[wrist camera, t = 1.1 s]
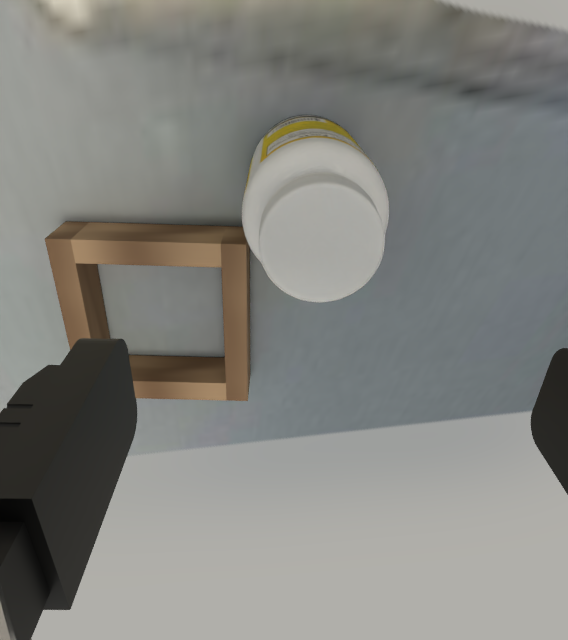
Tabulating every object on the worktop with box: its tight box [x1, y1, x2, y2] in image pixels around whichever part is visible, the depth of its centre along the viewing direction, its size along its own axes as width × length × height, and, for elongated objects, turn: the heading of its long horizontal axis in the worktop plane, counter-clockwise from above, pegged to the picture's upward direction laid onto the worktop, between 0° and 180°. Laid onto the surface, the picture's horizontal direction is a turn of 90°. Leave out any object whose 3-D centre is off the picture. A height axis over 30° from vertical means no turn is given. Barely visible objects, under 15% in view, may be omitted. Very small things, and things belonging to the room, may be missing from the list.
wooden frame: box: [45, 221, 250, 401], centre depth 26 cm, size 9×9×2 cm
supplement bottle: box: [242, 115, 389, 302], centre depth 19 cm, size 5×5×10 cm
